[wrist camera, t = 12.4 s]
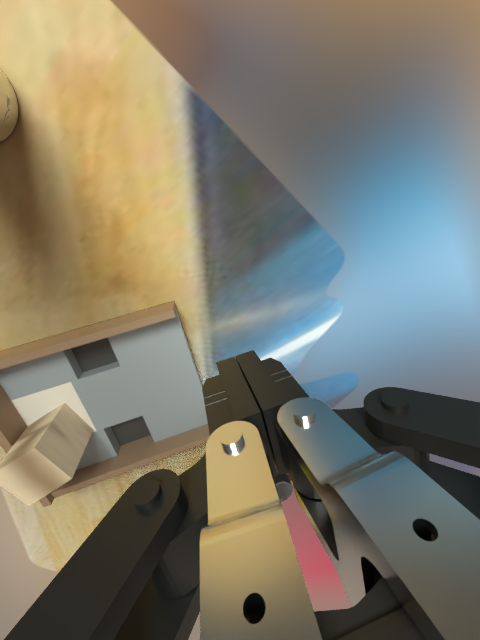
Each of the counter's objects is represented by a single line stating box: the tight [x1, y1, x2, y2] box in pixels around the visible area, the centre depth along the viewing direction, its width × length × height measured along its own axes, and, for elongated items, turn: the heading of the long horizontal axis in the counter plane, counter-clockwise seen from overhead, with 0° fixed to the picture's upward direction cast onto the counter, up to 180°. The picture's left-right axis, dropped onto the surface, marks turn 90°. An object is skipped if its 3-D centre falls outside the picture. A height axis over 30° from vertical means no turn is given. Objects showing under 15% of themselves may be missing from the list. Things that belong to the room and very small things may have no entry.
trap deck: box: [0, 301, 210, 507], centre depth 40 cm, size 26×22×6 cm
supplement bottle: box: [274, 463, 292, 502], centre depth 47 cm, size 6×6×11 cm
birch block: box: [0, 403, 93, 506], centre depth 36 cm, size 6×6×9 cm
